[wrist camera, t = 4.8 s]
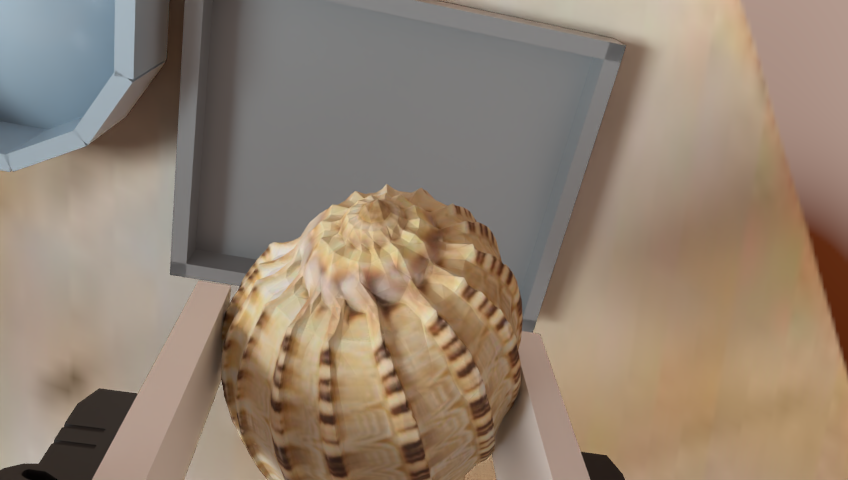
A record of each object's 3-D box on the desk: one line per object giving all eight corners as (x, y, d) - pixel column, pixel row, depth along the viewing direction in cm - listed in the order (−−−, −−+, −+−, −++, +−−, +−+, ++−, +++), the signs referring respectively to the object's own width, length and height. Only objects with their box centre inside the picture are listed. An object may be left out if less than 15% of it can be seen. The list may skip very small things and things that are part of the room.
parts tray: (181, 256, 33) (169, 274, 31) (200, -52, 27) (187, -49, 25) (526, 313, 35) (532, 332, 33) (613, 38, 29) (626, 45, 27)
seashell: (526, 336, 22) (465, 101, 14) (584, 529, 18) (544, 353, 10) (298, 397, 22) (120, 206, 15) (307, 595, 19) (74, 479, 11)
